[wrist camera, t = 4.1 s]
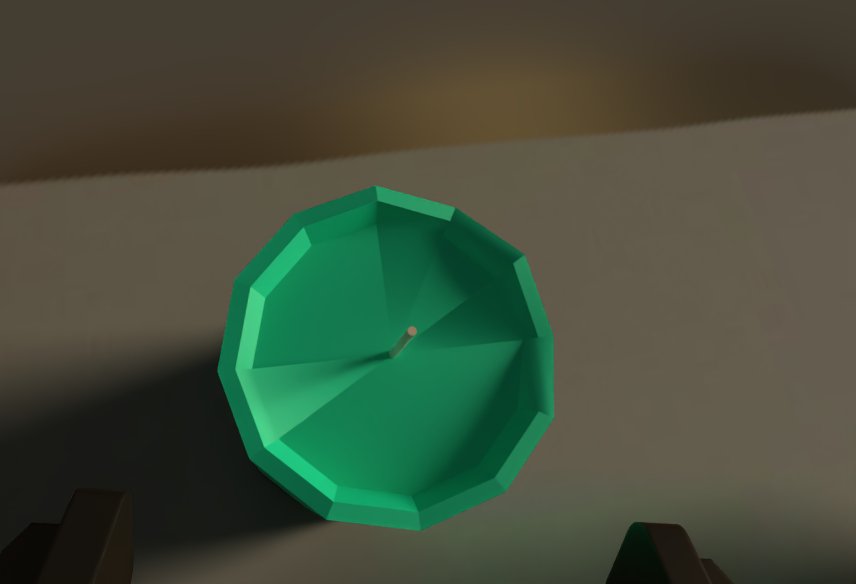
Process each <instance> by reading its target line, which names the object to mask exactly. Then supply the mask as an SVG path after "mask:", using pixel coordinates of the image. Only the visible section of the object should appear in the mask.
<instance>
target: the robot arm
mask: <svg viewBox="0 0 856 584" xmlns="http://www.w3.org/2000/svg"><path fill="white" fill-rule="evenodd" d="M133 560H134V556H133V515H132V494H131V492H130V491H126V490H109V489H92V488H77V489H76V490H75V492H74V493H73V495H72V497H71V500H70V502H69V504H68V506H67V509H66V511H65V513H64V516H63V518H62V520H61V523H60V524H49V523H31V524H30V525H29V526H28V527H27V528H26V529H25V530H24V531H23V532H22V533H20V534H19V535H18V536H17V537H16V538H15V539H14V540H13V541H12V542H11V543H10V544H9V545H8V546H7V547H6V548H5V549H3V550H2V552H1V554H0V584H131V580H132V573H133ZM606 584H734V583H733V582H732V581H731V580H730V579H729V578H728V577H727V576H726V575H725V574H724V573H723V571H722V570H721V569H720V568H719V567H718V566H717V565H716V564H715V563H714V562H713V561H712V560H711V559H703V558H699V556H698V554H697V552H696V550H695V548H694V546H693V544H692V542H691V540H690V538H689V536H688V534H687V533H686V531H685V530H684V528H683V527H681V526H680V525H678V524H661V523H644V522H635V523H633V524H632V525H631V526H630V527H629V529H628V531H627V533H626V536H625V538H624V541H623V543H622V545H621V548H620V550H619V552H618V555H617V557H616V559H615V562H614V564H613V566H612V569H611V571H610V573H609V576H608V578H607V581H606Z"/></svg>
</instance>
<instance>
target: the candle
mask: <svg viewBox="0 0 856 584" xmlns="http://www.w3.org/2000/svg"><path fill="white" fill-rule="evenodd" d="M217 372H218V374H219V377H220V380H221V383H222V385H223V388H224V391H225V394H226V396H227V399H228V402H229V405H230V407H231V410H232V413H233V416H234V418H235V421H236V424H237V427H238V429H239V432H240V435H241V438H242V440H243V443H244V446H245V449H246V451H247V454H248V457H249V459H250V460H251V461H252V463H253V464H254V465H255V466H256V467H257V468H258V469H259V470H260V471H261V472H262V473H263V474H264V475H265V476H266V477H268V478H269V479H270V480H271V481H273V482H274V483H275V484H276V485H278V486H279V487H280V488H281V489H283V490H284V491H285V492H287V493H288V494H289V495H290V496H292V497H293V498H294V499H295V500H297V501H298V502H299V503H300V504H302V505H303V506H304V507H306V508H307V509H309V510H311V511H312V512H314V513H316V514H317V515H319V516H321V517H322V518H324V519H326V520H332V521H341V522H349V523H358V524H367V525H375V526H384V527H392V528H401V529H410V530H418V531H422V530H424V529H426V528H428V527H430V526H432V525H435V524H437V523H439V522H441V521H443V520H446V519H448V518H450V517H452V516H454V515H456V514H459V513H461V512H463V511H465V510H467V509H470V508H472V507H474V506H476V505H478V504H480V503H483V502H485V501H487V500H489V499H491V498H494V497H496V496H498V495H500V494H502V493H505V492H506V491H507V489H508V488H509V486H510V485H511V483H512V482H513V480H514V479H515V477H516V476H517V474H518V472H519V471H520V469H521V468H522V466H523V465H524V463H525V462H526V460H527V459H528V457H529V456H530V454H531V453H532V451H533V450H534V448H535V446H536V445H537V443H538V442H539V440H540V439H541V437H542V436H543V434H544V433H545V431H546V430H547V428H548V427H549V425H550V424H551V422H552V421H553V419H554V336H553V333H552V330H551V327H550V325H549V322H548V319H547V316H546V313H545V310H544V307H543V305H542V302H541V299H540V296H539V293H538V290H537V288H536V285H535V282H534V279H533V276H532V273H531V271H530V268H529V265H528V262H527V259H526V256H525V255H524V254H523V253H522V252H520V251H519V250H517V249H516V248H514V247H513V246H511V245H510V244H508V243H507V242H505V241H504V240H502V239H501V238H499V237H498V236H496V235H495V234H494V233H492V232H491V231H489V230H488V229H486V228H485V227H483V226H482V225H480V224H479V223H477V222H476V221H474V220H473V219H471V218H470V217H468V216H467V215H466V214H464V213H463V212H461V211H460V210H458V209H457V208H455V207H451V206H448V205H444V204H440V203H437V202H433V201H430V200H426V199H422V198H419V197H415V196H412V195H408V194H404V193H401V192H397V191H394V190H390V189H386V188H383V187H379V186H373V187H370V188H368V189H365V190H362V191H359V192H356V193H353V194H350V195H347V196H344V197H342V198H339V199H336V200H333V201H330V202H327V203H324V204H321V205H318V206H316V207H313V208H310V209H307V210H304V211H301V212H298V213H295V214H293V215H292V217H291V218H290V219H289V220H288V221H287V222H286V223H285V224H284V225H283V227H282V228H281V229H280V230H279V231H278V232H277V233H276V234H275V235H274V237H273V238H272V239H271V240H270V241H269V242H268V243H267V244H266V245H265V247H264V248H263V249H262V250H261V251H260V252H259V253H258V254H257V255H256V257H255V258H254V259H253V260H252V261H251V262H250V263H249V264H248V265H247V267H246V268H245V269H244V270H243V271H242V272H241V273H240V274H239V275H238V277H237V278H236V279H235V280H234V285H233V291H232V296H231V301H230V306H229V312H228V317H227V322H226V327H225V333H224V338H223V343H222V348H221V354H220V359H219V364H218V369H217Z"/></svg>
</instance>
